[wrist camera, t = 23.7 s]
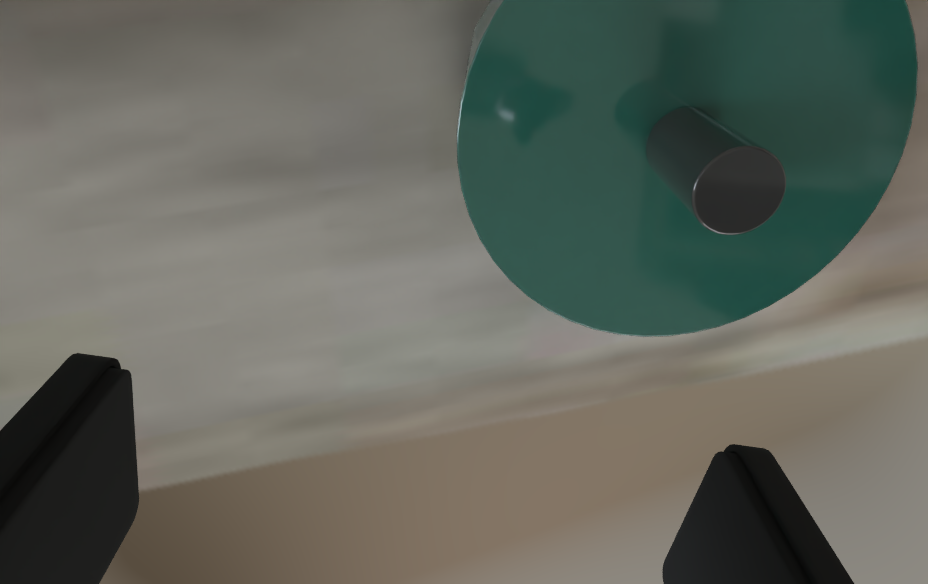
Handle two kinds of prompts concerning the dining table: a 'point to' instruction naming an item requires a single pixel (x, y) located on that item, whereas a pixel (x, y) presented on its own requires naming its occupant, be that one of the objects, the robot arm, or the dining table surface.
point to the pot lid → (680, 149)
